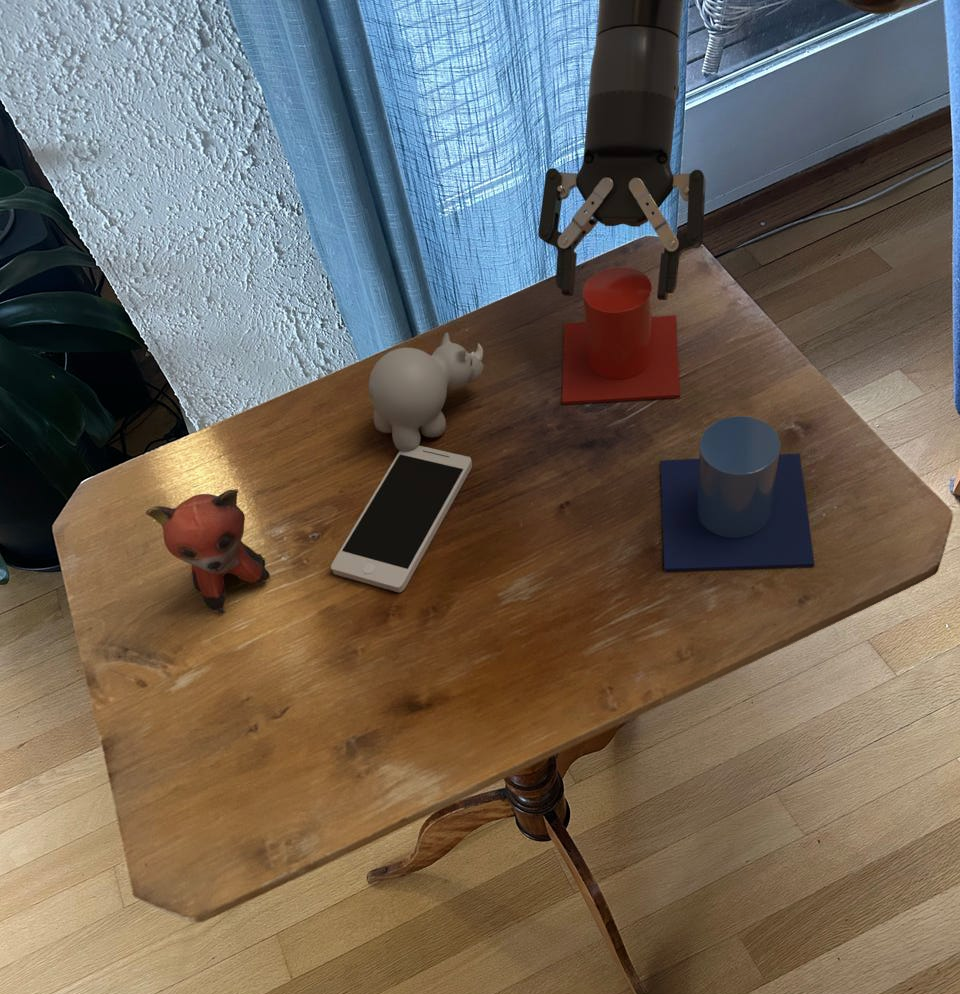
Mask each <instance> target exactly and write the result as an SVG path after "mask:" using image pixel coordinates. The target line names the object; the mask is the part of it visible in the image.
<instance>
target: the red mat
mask: <svg viewBox="0 0 960 994" xmlns="http://www.w3.org/2000/svg"><path fill="white" fill-rule="evenodd" d="M677 329H678V328H677V315H676V314H673V315H659V316H652V347H653V355H652V360H651V363H650V364H649V366H648V367H647V368H646V369H645V370H644V371H643V372H641V373H640V374H638V375H636V376H634V377H630V378H626V379H609V378H605V377H602V376H600V375H598V374H597V373H595V372H594V371H593V370H592V369H591V367H590V365H589V363H588V353H587V340H586V327H585V321H577V322H576V321H575V322H565V323H564V329H563V358H562V360H563V361H562V387H561V388H562V389H561V405H564V406H565V405H581V404H596V403H610V402H611V403H614V402H630V401H647V400H663V399H664V400H665V399H679V398H681V388H680V369H679V351H678V349H679V347H678V334H677V333H678V331H677Z"/></svg>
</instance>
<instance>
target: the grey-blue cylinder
mask: <svg viewBox="0 0 960 994" xmlns="http://www.w3.org/2000/svg"><path fill="white" fill-rule="evenodd" d="M698 453H699V454H698V459H699V469H698V491H697V515H698V518H699V520H700V522H701V523H702V524H703V526H704V527H705V528H707V529H708V530H709V531H711V532H712V533H714V534H717V535H719V536H723V537H728V538H741V537H746V536H749V535H752V534H754V533H756V532H758V531H759V530H761V529H762V528H763V527H764V526H765V525H766V524H767V522H768V521H769V519H770V516H771V511H772V504H773V497H774V490H775V483H776V476H777V468H778V461H779V455H781V440H780V437H779V435H778V432H777V431H776V430H775V429H774V428H773V427H772V426H771V425H770V424H768V423H767V422H766V421H764V420H761V419H759V418H755V417H752V416H744V415H743V416H742V415H738V416H729V417H725V418H721V419H720V420H717V421H716V422H714V423H712V424H711V425H710V426H708V428H706V429H705V430H704V432H703V433H702V435H701V437H700V441H699V449H698Z"/></svg>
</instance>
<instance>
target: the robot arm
mask: <svg viewBox="0 0 960 994" xmlns="http://www.w3.org/2000/svg"><path fill="white" fill-rule="evenodd" d="M598 1H599V2H598V12H597V13H598V15H597V24H596V25H597V26H596V39H595V45H594V51H593V56H592V59H591V64H590V72H589V73H590V74H589V86H588V87H589V89H588V96H587V97H588V98H587V111H586V122H585V134H584V135H585V136H584V148H583V150H584V151H583V159H582V164H581V167H580V169H579V171H577V173H576V172H575V173H573V172H561V171H559V170H558V169H557V168H555V167H552V168H549V169H547V171H546V173H545V178H544V184H543V185H544V186H543V194H542V201H541V209H540V217H539V224H538V233H537V235H538V238H539V239H540V240H542V241H543V242H544V243H545V244H547V245H550V246H552V247H554V248H556V251H557V259H556V270H555V271H556V272H555V283H556V287H557V288H558V289H560V290H561V295H563V296H565V297H574V294H575V282H576V270H577V259H578V258H577V257H578V253H577V252H575V249H576V248H577V247H578V246H579V245H580V243H581V242H582V241H583V240H584V239H585V237H586V236H587V235H588V234H590V233H591V232H592V231H593V230H594V228H595V227H596V226H597V224H598V223H600V224H602V225H604V226H605V227H616V226H617V227H618V226H620V225H625V226H629V227H632V228H633V227H634V228H635V227H637V228H638V227H639V228H640V227H641V226H642V225H645V224H646V223H648V222H649V224H650V225H651V227H652V229H653V230H654V232H655V233H656V235H657V237H658V238H659V240H660V241H661V243H662V245H663V246H664V247H663V252H661V253H660V263H659V271H658V272H659V273H658V281H657V282H658V284H657V294H656V296H657V300H659V301H668V299H669V294H674V293H675V292H676V289H677V283H678V274H679V264H680V258H681V256H682V254H683V253H685V252H687V251H690V250H693V249H696V250H697V249H699V248H701V247H702V245H703V243H704V225H705V224H704V222H705V204H706V200H705V199H706V184H707V183H706V178H705V175H704V172H703V171H702V170H700V169H694V170H693V171H691V172H690V173H674V174H673V172H672V167H671V163H672V162H671V161H672V160H671V159H672V150H673V141H674V140H673V139H674V131H675V122H676V121H675V120H676V111H677V100H678V99H679V94H680V86H679V82H680V81H679V80H680V37H681V29H682V28H681V27H682V17H683V7H684V0H598ZM836 1H837V2H840V3H841V4H844V5H846V6H848V7H850V8H853V9H855V10H858V11H860V12H863V13H867V14H872V15H889V14H893V13H897V12H901V11H905V10H909V9H912V8H915V7H918V6H920V5H923V4H926V3H929V2H931V1H932V0H836ZM574 188H577V190H578V191H579V193H580V195H581V197H582V199H583V200H584V202H583V204H582V205H581V206H580V207H579V209H578V210H577V211H576V212H575V214H574V215H573V216H572V219H571V221H570V223H568V225H567V226H566V228H565V229H564V230H563V231H562V232H561V231H559V225H560V219H561V212H562V211H561V210H562V203H563V200H567V199H568V198H569V196H570V195H571V191H572V190H573V189H574ZM674 189H677V190H678V191H679V196H680V198H681V199H682V200H683V201H684V202H687V218H686V219H687V221H686V232H685V233H681V234H679V235H676V234H675V232H674V231H673V229H672V227H671V226H670V224H669V223H668V221H667V219H666V217H665V216H664V214H663V213H662V211H661V210H660V207H661V206H662V204H663V203H664V202H665V201H666V200H667V198H668V197H669V196H670V195H671V193H672V191H673V190H674Z"/></svg>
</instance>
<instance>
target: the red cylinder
mask: <svg viewBox="0 0 960 994" xmlns="http://www.w3.org/2000/svg"><path fill="white" fill-rule="evenodd" d="M582 299H583V313H584V322H585V327H586V340H587V353H588V363H589V365H590V367H591V369H592V370H593V371H594V372H595V373H597V374H598V375H600V376H602V377H605V378H609V379H626V378H630V377H634V376H636V375H638V374H640V373H641V372H643V371H644V370H645V369H646V368H647V367H648V366H649V364H650V363H651V360H652V355H653V347H652V317H653V285H652V282H651V279H650V278H649V277H648V275H646V274H645V272H642V271H641V270H639V269H636V268H633V267H628V266H615V267H614V266H613V267H609V268H605V269H602V270H600V271H598V272H596V273H595V274H593V275H591V277H589V279H588V280H586V282H585V284H584V285H583V288H582Z"/></svg>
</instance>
